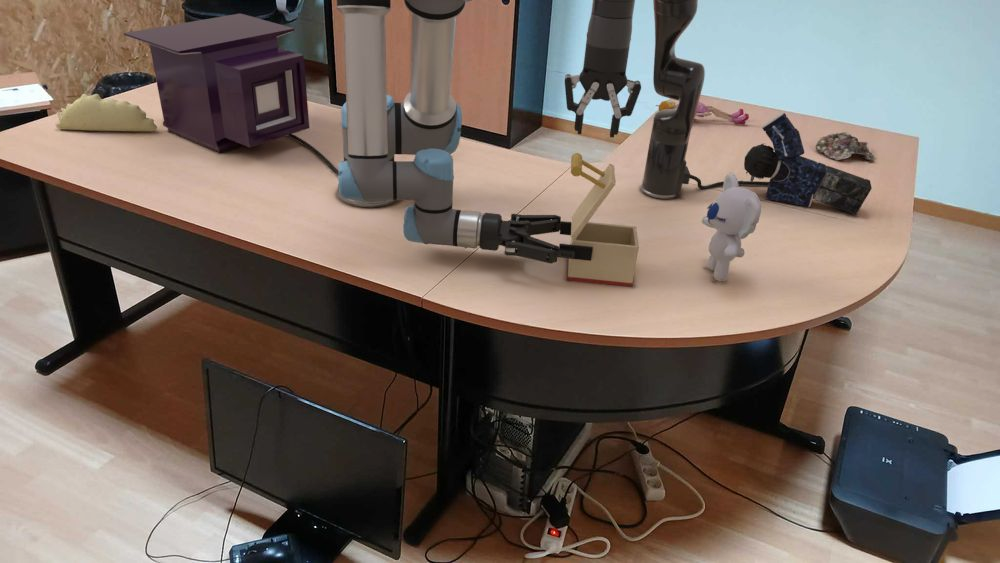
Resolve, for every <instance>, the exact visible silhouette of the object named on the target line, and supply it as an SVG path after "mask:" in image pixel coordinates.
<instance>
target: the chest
mask: <svg viewBox="0 0 1000 563" xmlns="http://www.w3.org/2000/svg"><path fill="white" fill-rule="evenodd" d="M569 243H570V244H569V245H578V246H588V247H593V251H592V258H591V261H588V260H579V259H569V258H567V259H568V263H567V280H568V281H574V282H575V281H576V282H583V283H584V282H586V283H595V284H606V285H615V286H624V287H633V282H634V278H635V273H636V272H635V271H636V267H637V266H636V265H637V262H638V255H639V251H640V250H639V249H640V246H639V245H640V244H639V237H638V229H637V226H633V225H625V224H614V223H604V222H603V223H602V222H593V221H588V223H587V224H586V225H585V227H584V228H583V229H582V231H581V232H580V233H579V235H578V236H577V238H576V239H573V238H571V237H570V242H569Z"/></svg>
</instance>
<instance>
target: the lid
mask: <svg viewBox="0 0 1000 563" xmlns="http://www.w3.org/2000/svg"><path fill="white" fill-rule="evenodd" d="M570 161H571V162H570V174H571V175H572V177H580V176H581V177H582V178H584V179H585V180H587V181H589V182H590V183H593V184H594V185H593V186H592V187H591V189H590V190H589V192H588V193H587V195H586V196H585V197H584V199H583V200H582V202H581V203H580V204H579V206H578V207H577V208H576V210H575V211H574V213H573V214H572V215H571V221H570V222H571V235H570V239H571V238H573V239H576V238H577V236H578V235H579V233H580V232H581V231H582V229H583V228H584V227H585V225H586V224H587V223H588V222H590V220H591V218H592V217H593V216H594V215H595V213H596V212H597V210H598V209H599V208H600V207H601V205H602V204H603V202H605V200H606V198H607V197H608V196H609V194H610V193H611V192H612V190H613V189H614V187H615V186H616V172H615V165H614V164H612V163H608V165H607V167H606V168H605V170H604V171H602V170H601V169H599V168H597V167H596V166H594V165H593V164H591V163H589V162H587V161H585V160H584V159H583V155H582V154H581V153H579V152H574V153H573V154H572V155H571V160H570ZM583 166H584V168H587V169H589V170H590V171H592V172H593V173H596V174H597V175H599V178H598V179H597V178H595V177H593V176H591V175H589V174H588V173H586V172H585V171H583Z"/></svg>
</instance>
